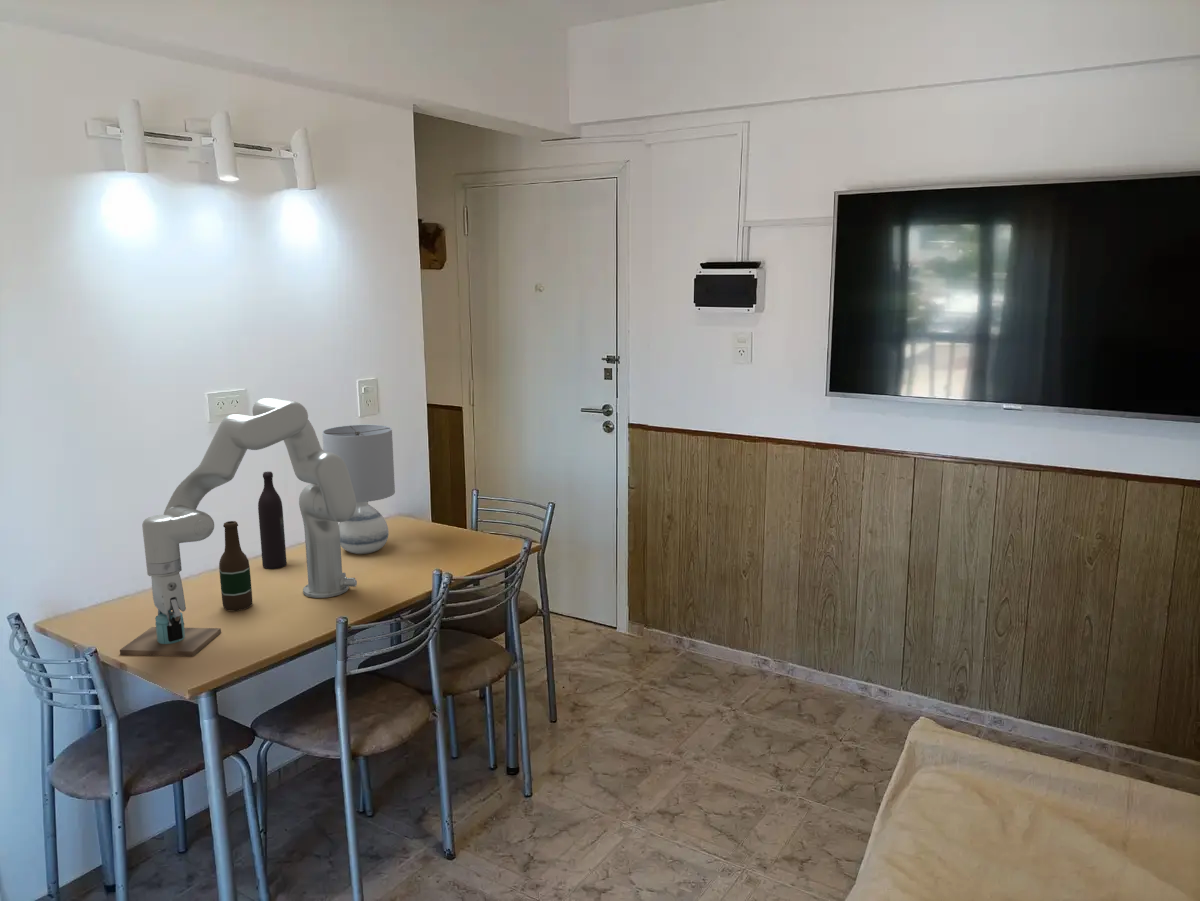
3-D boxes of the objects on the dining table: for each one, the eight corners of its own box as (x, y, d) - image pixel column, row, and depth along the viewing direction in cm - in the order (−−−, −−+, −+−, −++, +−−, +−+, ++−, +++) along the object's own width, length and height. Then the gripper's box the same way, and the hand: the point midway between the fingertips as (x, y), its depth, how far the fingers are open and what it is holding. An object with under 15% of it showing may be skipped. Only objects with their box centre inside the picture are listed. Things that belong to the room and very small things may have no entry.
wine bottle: (287, 567, 272) (280, 473, 266) (262, 570, 270) (255, 475, 264) (286, 561, 279) (279, 469, 273) (262, 563, 276) (255, 471, 270)
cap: (180, 632, 220) (177, 609, 219) (188, 639, 216) (185, 616, 215) (154, 638, 216) (152, 615, 215) (162, 646, 212) (159, 622, 211)
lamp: (315, 553, 286) (307, 432, 278) (365, 536, 304) (359, 422, 296) (362, 564, 275) (355, 438, 267) (411, 546, 293) (406, 428, 285)
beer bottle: (234, 613, 235) (226, 527, 231) (216, 608, 239) (208, 523, 235) (259, 604, 242) (252, 520, 237) (241, 599, 246) (234, 516, 241)
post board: (221, 632, 223) (219, 611, 222) (193, 656, 209) (191, 633, 208) (152, 631, 224) (149, 609, 223) (120, 654, 210) (117, 631, 209)
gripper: (192, 571, 209) (198, 642, 212) (169, 554, 221) (176, 621, 225) (158, 578, 204) (165, 651, 207) (137, 561, 216) (144, 629, 220)
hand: (171, 635), depth 216 cm, fingers closed on cap, 6 cm apart
